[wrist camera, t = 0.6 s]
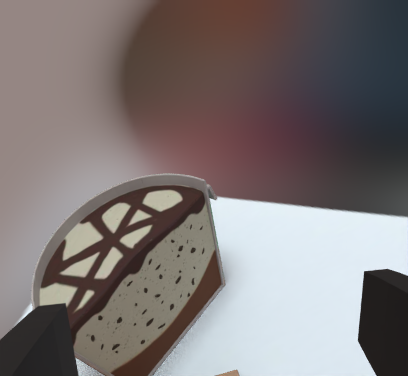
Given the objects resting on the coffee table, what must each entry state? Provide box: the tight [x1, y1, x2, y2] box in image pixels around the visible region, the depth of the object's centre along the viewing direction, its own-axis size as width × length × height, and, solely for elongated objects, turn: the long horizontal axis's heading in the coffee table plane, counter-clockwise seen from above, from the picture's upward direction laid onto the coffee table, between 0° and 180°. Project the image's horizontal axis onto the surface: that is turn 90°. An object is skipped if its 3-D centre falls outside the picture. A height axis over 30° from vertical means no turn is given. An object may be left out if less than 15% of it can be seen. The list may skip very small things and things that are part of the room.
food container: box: [31, 174, 225, 376], centre depth 25 cm, size 12×6×10 cm, turn 140°
